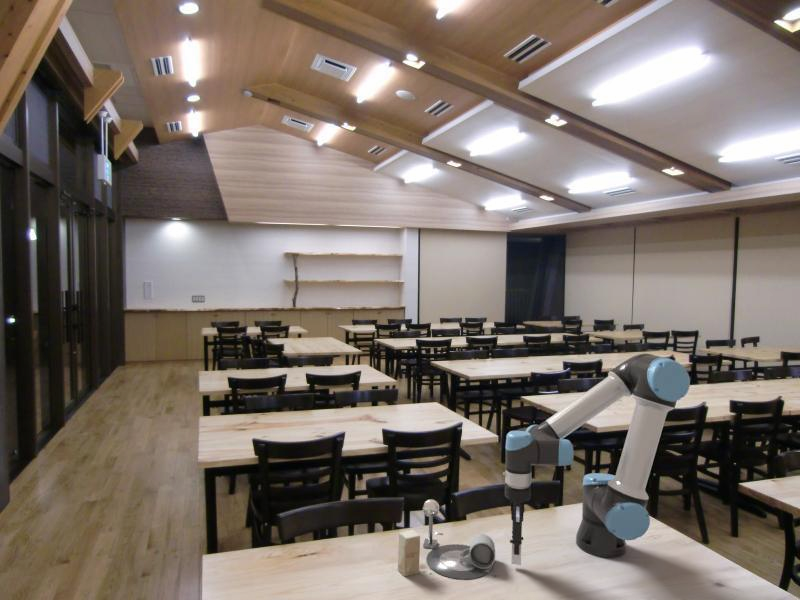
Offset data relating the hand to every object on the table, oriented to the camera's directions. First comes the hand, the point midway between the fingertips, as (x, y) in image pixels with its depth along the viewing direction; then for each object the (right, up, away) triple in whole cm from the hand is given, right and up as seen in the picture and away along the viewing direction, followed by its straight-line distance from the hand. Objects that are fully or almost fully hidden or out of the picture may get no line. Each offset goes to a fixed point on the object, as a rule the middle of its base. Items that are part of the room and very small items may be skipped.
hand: (516, 563), depth 156 cm
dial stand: (-25, -1, +13) cm, 28 cm away
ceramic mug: (-11, -1, +2) cm, 11 cm away
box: (-32, -1, -3) cm, 32 cm away
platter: (-17, -1, +3) cm, 17 cm away
